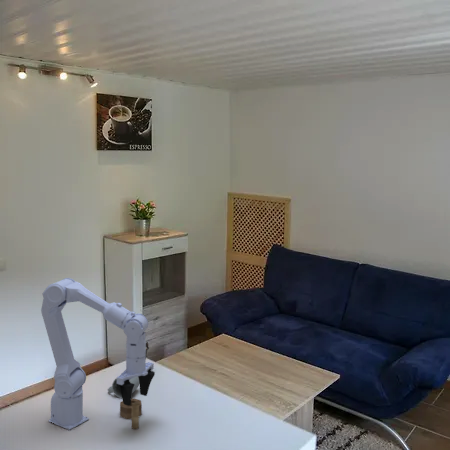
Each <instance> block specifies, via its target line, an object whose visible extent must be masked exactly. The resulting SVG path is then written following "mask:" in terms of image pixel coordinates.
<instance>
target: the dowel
mask: <svg viewBox="0 0 450 450" xmlns="http://www.w3.org/2000/svg"><path fill="white" fill-rule="evenodd" d="M130 420H131V430H138V429H139V428H140V416H139V403H138V402H134V403H132V419H130Z"/></svg>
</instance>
